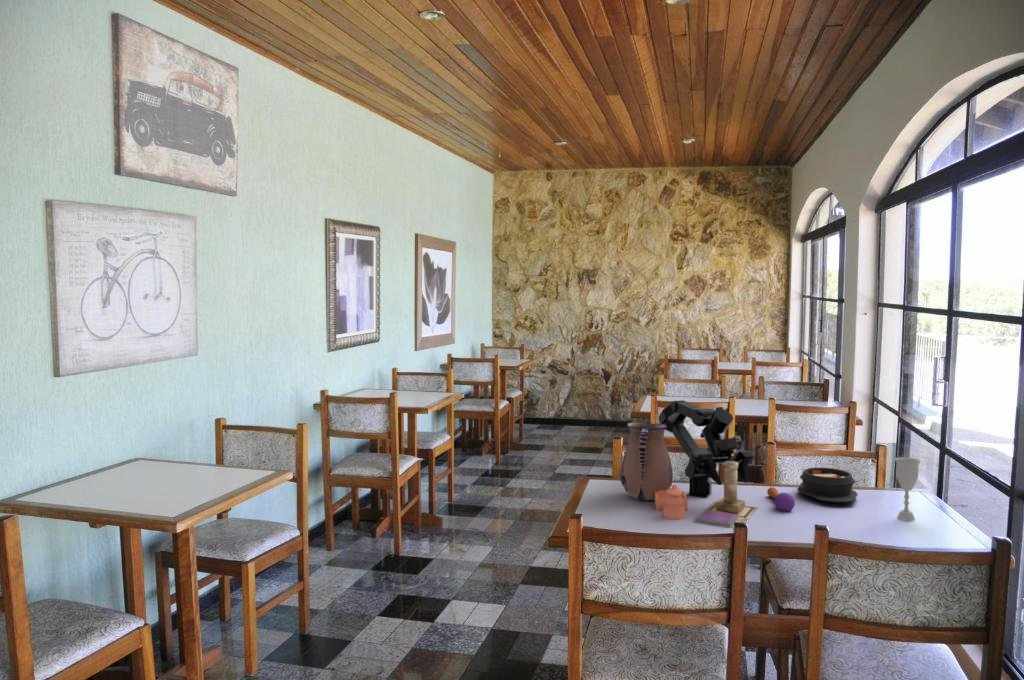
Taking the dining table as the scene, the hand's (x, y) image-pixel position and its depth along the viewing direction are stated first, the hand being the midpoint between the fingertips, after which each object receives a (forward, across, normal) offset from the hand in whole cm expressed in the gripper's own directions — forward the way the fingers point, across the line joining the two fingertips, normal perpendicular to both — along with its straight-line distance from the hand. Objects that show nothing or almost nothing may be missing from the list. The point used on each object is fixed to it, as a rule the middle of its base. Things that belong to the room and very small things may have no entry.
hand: (733, 483), depth 228 cm
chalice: (+21, +47, -7) cm, 52 cm away
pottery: (+2, -18, +11) cm, 21 cm away
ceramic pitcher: (-8, -20, +22) cm, 31 cm away
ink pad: (+11, -10, +1) cm, 15 cm away
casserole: (+2, +40, +12) cm, 41 cm away
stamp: (+5, 0, +7) cm, 9 cm away
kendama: (+4, +19, +9) cm, 21 cm away
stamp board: (+8, -4, +5) cm, 10 cm away
